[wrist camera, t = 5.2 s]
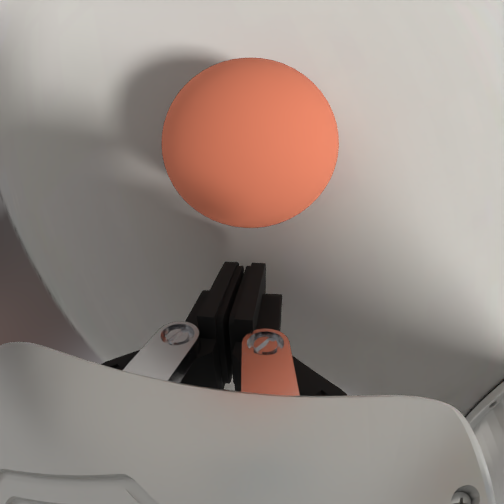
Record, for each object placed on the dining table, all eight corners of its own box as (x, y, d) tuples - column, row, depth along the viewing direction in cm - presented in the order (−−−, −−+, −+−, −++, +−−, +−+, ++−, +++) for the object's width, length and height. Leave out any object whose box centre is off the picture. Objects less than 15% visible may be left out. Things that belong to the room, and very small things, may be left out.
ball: (322, 210, 12) (345, 263, 6) (196, 204, 12) (134, 249, 7) (327, 83, 9) (356, 35, 4) (196, 82, 10) (129, 48, 5)
